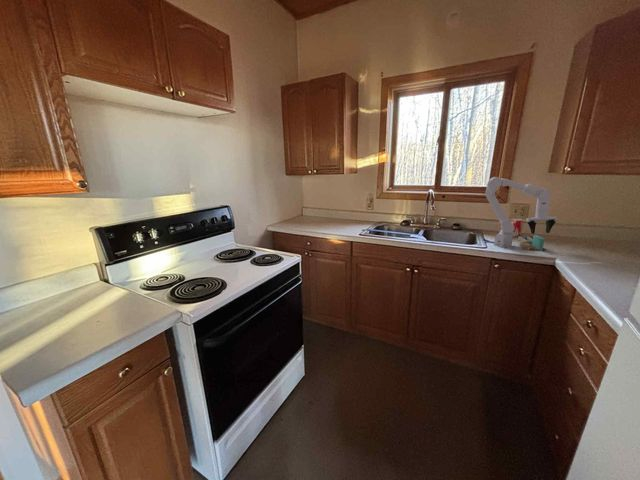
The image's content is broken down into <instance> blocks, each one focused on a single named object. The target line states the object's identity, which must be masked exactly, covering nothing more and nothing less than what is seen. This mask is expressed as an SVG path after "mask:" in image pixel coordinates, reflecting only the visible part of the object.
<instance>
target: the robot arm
mask: <svg viewBox="0 0 640 480" xmlns="http://www.w3.org/2000/svg"><path fill="white" fill-rule="evenodd" d="M500 187H510V188H514V189H518V190H521V191H522V192H521V193H522V194H524V195H528V196H531V197H534V198H536V200H537V201H536V206H535V214H534V215H535V217H534V216H533V217H526V223H527V224H528V226H529V229H530V233H531V234H533V235H535V233H536V225H537V222H545V227H546V228H545V233H547V234H550V232H551V230H552V228H553V226H554V225H555V224H556V221H557V220H558V216H549V212H550V211H549V209H550V198H551V197H552V192H551V191H550V190H549V189H547V188H544V187H543V186H540V187H539V186H537V185H534V183H526V184H523V183H519V182H517V181H513V180H511V179H508V178H502V177H500V178H499V177H498V176H493V177H491V178H490V179H489V180H488V181H487V183H486V189H485V193H484V194H485V198H486V199H487V202H488V203H489V204H490V206H491V208H492V210H493V212H494V214H495V215H496V217H497V219H498V221H499V224H500V227H501V229H500V230H499V233H497V234H496V235H495V236H494V243H493V246H496V247H500V248H510V247H512V246H513V241H514V237H513V234H514V232H513V231H514V225H513V224H512V222H511V220H510V219H509V218H508V216H507V215H506V212H505V211H504V210H503V209H504V208H502V205H501V204H500V201H499V200H498V199H497V197H496V192H497V190H498V189H499V188H500Z"/></svg>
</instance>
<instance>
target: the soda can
mask: <svg viewBox="0 0 640 480" xmlns="http://www.w3.org/2000/svg"><path fill="white" fill-rule="evenodd" d="M510 222H512V224H513V225H514V231H513V232H514V234H513V238H516V237H517V238H518V236H520V237H522V234H523V233H522V231H523V226H524V222H523V219H522V218H512V220H510Z"/></svg>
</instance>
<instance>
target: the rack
mask: <svg viewBox="0 0 640 480" xmlns="http://www.w3.org/2000/svg"><path fill="white" fill-rule="evenodd" d="M530 245H531V244H530ZM519 247H520V248H521V249H523V250H525V249H524V248H522V247H521V246H520V245H519ZM546 250H547V249H546V248H545V247H543V251H542V252H546ZM525 251H526V250H525ZM529 251H535V252H540V251H539V250H538V248H536V247H535V246H533V245H531V246H530V250H529Z"/></svg>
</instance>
